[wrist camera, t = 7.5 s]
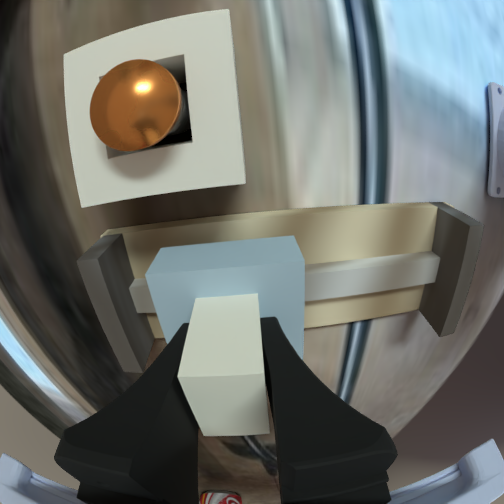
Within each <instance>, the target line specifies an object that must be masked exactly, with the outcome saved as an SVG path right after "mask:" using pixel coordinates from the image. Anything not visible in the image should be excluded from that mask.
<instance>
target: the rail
mask: <svg viewBox="0 0 504 504" xmlns="http://www.w3.org/2000/svg"><path fill="white" fill-rule="evenodd" d="M483 229H484V225H483V224H482V223H480V222H478V221H477V220H475V219H473V218H471V217H470V216H468V215H466V214H464V213H462V212H461V211H459V210H457V209H455V208H454V206H452V205H450V204H448V203H446V202H425V203H393V204H369V205H350V206H333V207H317V208H303V209H290V210H277V211H265V212H254V213H243V214H232V215H222V216H213V217H203V218H194V219H185V220H177V221H169V222H160V223H152V224H145V225H137V226H130V227H122V228H115V229H108V230H107V231H106V232H104V233H103V234H102V235H101V236H100V237H101V238H100V239H99V240H98V241H97V242H96V243H95V244H94V245H93V246H92V247H91V248H90V249H88V250H87V251H86V252H85V253H84V254H83V255H82V256H81V257H80V258H79V259H78V260H77V264H78V267H79V270H80V273H81V276H82V278H83V281H84V284H85V286H86V289H87V292H88V294H89V297H90V299H91V302H92V304H93V307H94V309H95V312H96V314H97V316H98V319H99V321H100V323H101V325H102V328H103V330H104V332H105V334H106V336H107V338H108V341H109V343H110V345H111V347H112V349H113V351H114V353H115V355H116V357H117V359H118V361H119V363H120V365H121V366H122V368H123V370H124V372H137V373H143V371H144V368H145V365H146V362H147V359H148V356H149V353H150V350H151V348H152V345H153V342H154V339H155V338H165V337H164V334H163V331H162V328H161V325H160V322H159V319H158V316H157V313H156V310H155V307H154V303H153V300H152V297H151V294H150V290H149V287H148V284H147V280H146V277H145V274H146V272H147V270H148V269H149V267H150V265H151V264H152V262H153V260H154V259H155V257H156V255H157V254H158V252H159V250H160V249H161V248H164V247H174V246H184V245H195V244H205V243H215V242H226V241H237V240H247V239H258V238H270V237H281V236H292V235H294V237H295V239H296V242H297V244H298V246H299V248H300V251H301V253H302V255H303V258H304V260H305V306H304V328H311V327H319V326H326V325H333V324H340V323H347V322H353V321H359V320H365V319H371V318H377V317H382V316H388V315H393V314H398V313H403V312H408V311H413V310H418V309H419V311H420V312H421V313H422V314H423V316H424V317H425V318H426V320H427V321H428V322H429V324H430V325H431V326H432V328H433V329H434V330H435V332H436V333H437V334H438V336H439V337H442V336H446V335H449V334H452V333H454V331H455V328H456V326H457V323H458V320H459V318H460V315H461V312H462V309H463V306H464V303H465V300H466V297H467V294H468V291H469V287H470V284H471V281H472V277H473V273H474V270H475V266H476V262H477V258H478V253H479V249H480V244H481V240H482V234H483Z"/></svg>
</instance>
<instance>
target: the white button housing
mask: <svg viewBox="0 0 504 504" xmlns="http://www.w3.org/2000/svg"><path fill="white" fill-rule="evenodd" d="M135 59H145V60H150V61H153V62H156V63H158V64H159V65H161V66H163V67H164V68H165V69H167V70H168V71H169V72H170V73H171V74H172V75H173V76H174V77H175V78H176V80H177V82H178V83H183V82H187V93H188V103H189V113H190V122H191V131H192V140H189V141H183V142H177V143H171V144H165V145H159V146H154V147H152V146H150V147H147V148H143V149H139V150H135V151H119V150H116V149H113V148H111V147H109V146H107V145H106V144H104V143H103V142H102V141H101V140H100V139H99V138H98V137H97V135H96V133H95V132H94V130H93V127H92V124H91V120H90V102H91V98H92V95H93V92H94V90H95V88H96V86H97V84H98V83H99V81H100V80H101V79H102V77H103V76H104V75H105V74H106V73H107V72H108V71H110V70H111V69H112V68H114V67H115V66H117V65H119V64H121V63H123V62H126V61H129V60H135ZM64 88H65V104H66V116H67V125H68V134H69V142H70V149H71V155H72V161H73V167H74V173H75V178H76V183H77V188H78V193H79V198H80V202H81V206H82V208H83V207H88V206H93V205H98V204H104V203H109V202H114V201H120V200H126V199H132V198H138V197H144V196H150V195H157V194H164V193H171V192H178V191H185V190H193V189H201V188H210V187H218V186H228V185H238V184H246V178H245V158H244V148H243V137H242V127H241V116H240V106H239V95H238V85H237V75H236V64H235V54H234V45H233V37H232V29H231V21H230V14H229V9H224V10H215V11H208V12H201V13H195V14H189V15H184V16H179V17H174V18H169V19H165V20H161V21H156V22H152V23H149V24H145V25H141V26H138V27H134V28H131V29H128V30H125V31H122V32H119V33H116V34H113V35H110V36H107V37H104V38H102V39H99V40H96V41H94V42H91V43H89V44H86V45H84V46H82V47H79V48H77V49H75V50H73V51H70V52H68V53H66V54H64Z"/></svg>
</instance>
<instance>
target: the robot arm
mask: <svg viewBox="0 0 504 504" xmlns="http://www.w3.org/2000/svg"><path fill="white" fill-rule="evenodd" d="M488 95H489V109H490V163H489V178H488V194H489V196H492V197H499V198H504V86H501V85H499V84H497V83H495V82H489V83H488ZM260 325H261V337H262V348H263V359H264V370H265V381H266V386H267V392H268V397H269V402H270V407H271V412H272V417H273V423H274V429H275V440H276V451H277V462H278V473H279V485H280V496H281V504H490V503H491V502H492V501H494V500H495V499H497V498H498V497H499V496H501V495H502V494H503V493H504V460H503V458H502V456H501V454H500V452H499V450H498V448H497V446H496V444H495V442H494V440H493V439H490V440H488V441H487V442H485V443H483V444H482V445H480V446H478V447H477V448H475V449H473V450H472V451H470V452H469V453H468V454H466V455H465V456H463V457H462V458H461V459H460V460H459V462H458V463H456V464H454V465H452V466H450V467H448V468H446V469H445V470H442V471H440V472H438V473H436V474H434V475H432V476H429V477H427V478H425V479H422V480H420V481H418V482H415V483H413V484H410V485H408V486H405V487H402V488H400V489H397V490H394V491H391V492H389V490H388V486H387V483H386V482H388V480H389V478H388V475H387V472H386V470H387V469H388V468H389V467H390V465H391V464H392V463H393V462H394V460H395V459H396V457H397V455H398V454H397V450H396V447H395V445H394V442H393V441H392V439H391V437H390V435H389V434H388V432H387V430H386V429H385V427H383V426H381V425H379V424H378V423H376V422H374V421H372V420H371V419H369V418H367V417H366V416H364V415H362V414H361V413H359V412H358V411H357V410H355V409H354V408H352V407H351V406H349V405H348V404H347V403H346V402H344V401H343V400H342V399H341V398H339V397H338V396H337V395H336V394H334V393H333V392H332V391H331V390H330V389H329V388H328V387H327V386H326V385H324V384H323V383H322V382H321V381H320V380H319V379H318V378H317V377H316V375H315V374H314V373H313V372H312V371H311V370H310V369H309V368H308V366H307V365H306V364H305V363H304V361H303V360H302V359H301V358H300V356H299V355H298V354H297V352H296V351H295V349H294V348H293V346H292V345H291V344H290V342H289V340H288V339H287V337H286V335H285V334H284V332H283V330H282V328H281V326H280V324H279V321H278V319H277V318H276V317H275V316H274V317H263V318H260ZM188 327H189V323H183V324H182V325H181V327H180V328H179V329H178V331H177V332H176V333H175V335H174V336H173V338H172V339H171V340H170V342H169V343H168V344H167V346H166V347H165V348H164V350H163V351H162V352H161V353H160V355H159V356H158V357H157V359H156V360H155V361H154V362H153V363H152V364H151V366H150V367H149V368H148V369H147V370H146V371H145V373H144V374H143V375H142V376H141V377H140V378H139V379H138V380H137V381H136V382H135V383H134V384H133V385H132V386H131V387H130V388H129V389H127V390H126V391H125V392H124V393H123V394H121V395H120V396H119V397H118V398H116V399H115V400H114V401H113V402H111V403H110V404H109V405H107V406H106V407H104V408H103V409H101V410H100V411H99V412H97V413H95V414H94V415H92V416H90V417H89V418H87V419H85V420H83V421H81V422H79V423H78V424H76V425H74V426H72V427H70V428H67V429H65V430H64V432H63V435H62V437H61V440H60V442H59V445H58V447H57V450H56V453H55V456H54V459H55V461H56V463H57V464H58V465H59V466H60V467H61V468H62V469H64V470H65V471H66V472H68V473H69V474H70V475H72V476H73V477H74V478H76V479H77V480H79V481H80V486H79V490H75V489H72V488H69V487H66V486H64V485H61V484H59V483H57V482H54V481H52V480H50V479H47V478H45V477H43V476H41V475H39V474H36V473H34V472H32V471H31V469H29V468H28V467H27V466H25V465H24V464H22V463H21V462H19V461H18V460H16V459H14V458H12V457H11V456H9V455H7V454H5V453H3V454H2V456H1V459H0V502H1V503H2V504H199V496H198V470H197V462H198V429H199V425H198V422H197V420H196V418H195V416H194V414H193V412H192V409H191V407H190V405H189V403H188V400H187V398H186V396H185V394H184V391H183V389H182V386H181V384H180V382H179V379H178V377H177V376H178V372H179V367H180V363H181V358H182V354H183V349H184V345H185V340H186V336H187V332H188Z"/></svg>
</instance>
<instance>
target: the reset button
mask: <svg viewBox="0 0 504 504" xmlns="http://www.w3.org/2000/svg"><path fill="white" fill-rule="evenodd" d="M90 120H91V124H92V127H93V130H94V132H95V133H96V135H97V137H98V138H99V139H100V140H101V141H102V142H103V143H104V144H106V145H107V146H109V147H111V148H113V149H116V150H119V151H135V150H139V149H143V148H147V147H150V146H152V145H154V144H156V143H158V142H159V141H161V140H162V139H164V138H165V137H166V136H167V135H175V134H181V133H183V132H185V131H187V130H188V129H190V128H191V122H190V113H189V103H188V93H187V92H186V91H184V90H182V89H181V88H180V86H179V84H178V82H177V80H176V78H175V77H174V76H173V75H172V74H171V73H170V72H169V71H168V70H167V69H165V68H164V67H163V66H161V65H159V64H158V63H156V62H153V61H150V60H145V59H135V60H129V61H126V62H123V63H121V64H119V65H117V66H115V67H114V68H112V69H111V70H110V71H108V72H107V73H106V74H105V75H104V76H103V77H102V79H101V80H100V81H99V83H98V84H97V86H96V88H95V90H94V92H93V95H92V98H91V102H90Z"/></svg>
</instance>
